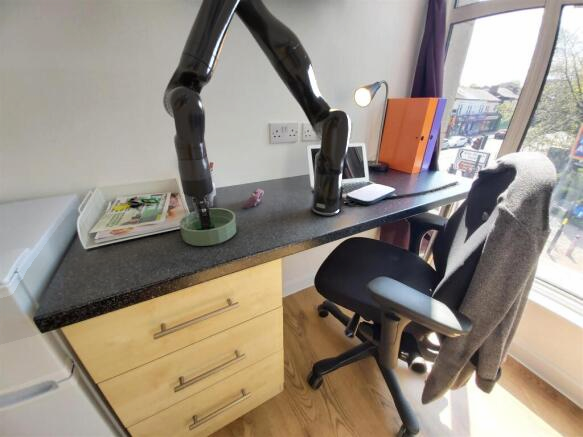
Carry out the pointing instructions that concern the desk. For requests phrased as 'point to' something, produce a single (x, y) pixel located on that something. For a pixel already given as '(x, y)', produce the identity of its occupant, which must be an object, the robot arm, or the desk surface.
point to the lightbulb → (211, 196)
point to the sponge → (198, 227)
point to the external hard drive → (370, 194)
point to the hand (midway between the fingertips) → (206, 232)
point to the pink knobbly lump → (254, 198)
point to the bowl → (221, 233)
